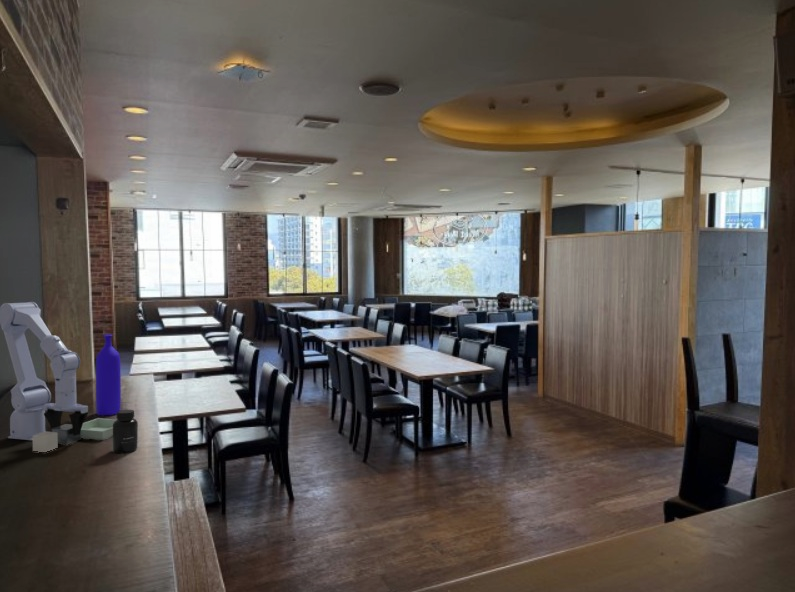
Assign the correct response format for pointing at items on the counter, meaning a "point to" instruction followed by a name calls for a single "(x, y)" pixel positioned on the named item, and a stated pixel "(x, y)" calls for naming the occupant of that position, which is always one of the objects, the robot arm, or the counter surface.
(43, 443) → the carton
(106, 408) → the bottle
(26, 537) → the counter surface
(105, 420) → the tray
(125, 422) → the supplement bottle
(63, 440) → the grey square block
